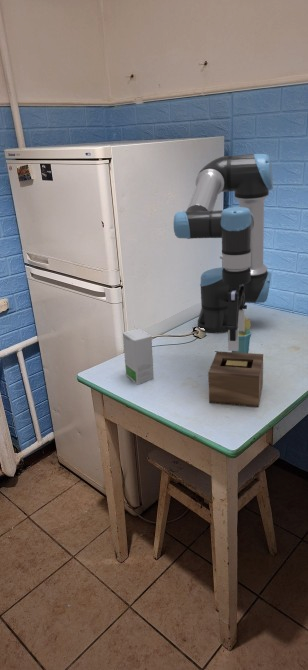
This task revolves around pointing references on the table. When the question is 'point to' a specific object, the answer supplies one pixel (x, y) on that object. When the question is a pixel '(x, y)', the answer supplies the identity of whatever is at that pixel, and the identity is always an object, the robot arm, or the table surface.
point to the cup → (244, 337)
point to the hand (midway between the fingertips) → (236, 340)
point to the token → (237, 364)
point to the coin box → (236, 379)
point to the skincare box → (138, 355)
